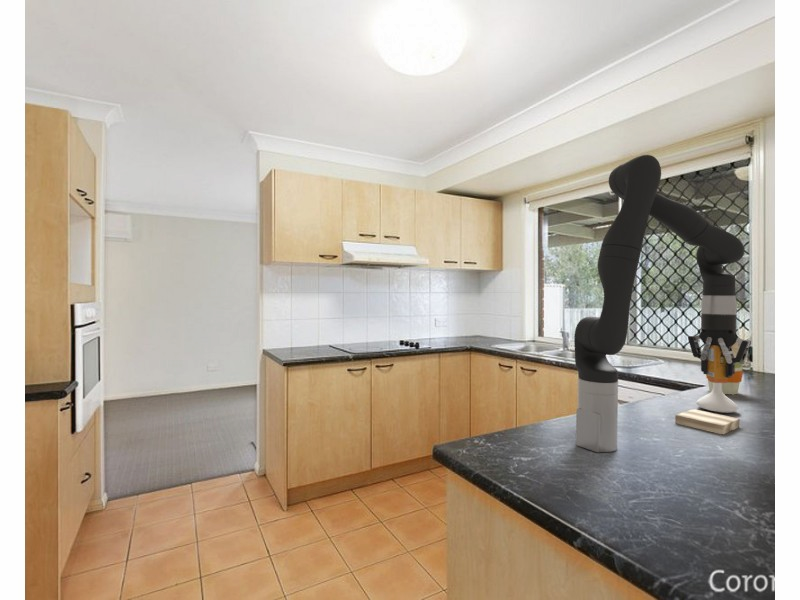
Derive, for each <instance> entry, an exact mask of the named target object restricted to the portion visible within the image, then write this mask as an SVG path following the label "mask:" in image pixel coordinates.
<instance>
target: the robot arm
mask: <svg viewBox="0 0 800 600" xmlns="http://www.w3.org/2000/svg"><path fill="white" fill-rule="evenodd" d="M661 178H662V168H661V165H660V162H659V160H658V159H657V158H656V157H655V156H653V155H651V154H642V155H639V156H636V157H633V158H632V159H629V160H628V161H626V162H624V163H621V164H619V165H618V166H617V167H615V168H613V169H612V171H611V172H610V174H609V177H608V185H609V188H610V190H611V191H612V193H613V194H615V196H617V197H618V198H620V199H621V200H623V201H622V205H621V207H620V210H619V212H618V214H617V215H616V217H615V219H614V220H613V222H612V223H611V225H609V226H610V227H609V229H607V232H606V234H605V235H604V236H603V240H602V243H601V246H600V250H599V255H598V258H597V272H598V273H597V274H598V276H599V280H600V283H601V286H602V291H603V301H602V302H603V303H602V308H601V312H600V315H599V316H586V317H582V318H581V319H580V320H579V322H578V323H577V324H576V327H575V330H574V336H573V337H574V338H573V340H574V341H573V342H574V363H575V367H576V370H577V372H578V379H577V380H578V381H577V382H578V387H577V393H578V394H577V408H576V409H575V411H576V412H575V414H576V417H575V418H576V419H575V425H576V426H575V445H576V446H578V447H581V448H584V449H586V450H589V451H592V452H595V453H611V452H612V453H613V452H615V451H618V424H619V423H618V419H619V417H618V416H619V415H618V413H619V412H618V409H619V408H618V407H619V371H618V369H617V368H616V367H615V366H613V364H612V363H611V362H610V361H609V360H608V358H607V356H613V355H616V354H618V353H619V352H620V351H622V349H623V348H624V346H625V343H626V341H627V337H628V329H629V318H630V310H631V309H630V308H631V300H632V295H633V291H634V283H635V279H636V274H637V272H638V271H637V270H638V266H639V263H640V259H641V254H642V248H643V242H644V237H645V234H646V229H647V226H648V221H649V217H650V216H651V218H654V219H655V220H657V221H658V222H659V223H661V224H662V225H664V226H665V227H667V228H668V229H669V230H670V231H671V232H672V233H674V235H676V236H678V237H679V239H681V240H683V242H685V243H686V244H687V245H690V246H695V247H696V246H697V249H696V255H695V257H696V258H695V259H696V262H697V266H698V269H699V273H700V276H701V279H702V298H701V305H700V306H701V307H700V309H701V311H700V312H701V313H700V333H699V334H698V335H690V336H687V340H688V342H689V346H690V350H691V353H692V356H693V358H697V359H700V371H701V372H702V373H703V375H706V374H708V353H709V349H710V347H711V345H715V346H719V347H720V351H722V352H723V355H724V356H725V358H726V361H727V363H726V372H725V376H726V377H727V378H730V377H732V376H733V375H734V374H735V363H736V362H742V361H744V362H745V359H746V356H747V355H748V351H749V349H750V346H751V344H752V341H751V340H749V339H743V338H739V336H738V334H737V313H738V308H737V297H736V296H737V295H736V293H737V292H736V291H737V289H736V288H737V287H736V285H737V282H736V281H737V280H736V277H735V275H733V274H731V273H727V272H724V268H723V265H730V264H734V263H737V262H739V261H740V260H742V258H744V257H743V256H744V254H745V246H744V244H743V241H741V240H740V238H738V237H737V236H736V235H734V234H732V233H730V232H728V231H726V230H725V229H722V228H720V227H718V226H716V225H714V224H712V223H711V222H710V221H708V220H707V219H706V218H705V217H704V216H703V215H701V214H700V213H699V212H698V211H697V210H695V209H694V208H692V207H690V206H688V205H686V204H683V203H682V202H679V201H677V200H673V199H670V198H668V197H665V196H663V195H662V194H660V193H658V189H659V186H660V183H661V180H662V179H661ZM700 342H702V343H703V344H704V346H703V348H702V350H701V347H700ZM736 342H737V343H738V346H739V347H740V348H739V350H738V353H737V355H736V358H735V357H734V352H733V349H732V346H733V345H734V344H735V343H736ZM729 349H730V350H729ZM611 364H612V365H611Z"/></svg>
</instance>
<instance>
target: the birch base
mask: <svg viewBox="0 0 800 600" xmlns="http://www.w3.org/2000/svg"><path fill="white" fill-rule="evenodd" d="M674 415H675V419H674V421H675V422H674V423H675V424H678V425H682V426H686V427H689V428H695V429H698V430H703V431H707V432H711V433H715V434H719V435H722V434H723V435H725V434H727V433H729V431H730V432H731V430H732V431H734V430H736V429H739V428H740V419H741V418H737V417H733V416H728V415H723V414H719V413H716V412H714V413H713V412H711V411H710V412H709V411H704V410H700V409H695V408H692V409H689V410H685V411H683V412H679V413H678V414H674ZM738 427H739V428H738Z"/></svg>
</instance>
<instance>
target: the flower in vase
mask: <svg viewBox="0 0 800 600" xmlns="http://www.w3.org/2000/svg"><path fill="white" fill-rule="evenodd" d="M739 348H740V347H739V346H738V343H737V342H736V343H735V344H734V345H733V346H732V349H733V352H734V357H735V358H736V355H737V353H738V350H739ZM729 350H730V349H729ZM740 367H742V368H743V367H744V365H743V366H742V365H741V364H740V363H738V362H736V363H735V368H740ZM721 385H722V383H713V390H712V391H709V393H707V394H706V395H703V396H701V397H700V398H698V400H696V402H695V404H696V405H697V407H699V408H701V409H702V410H703V409H704V410H707V411H710V412H714V413H723V414H724V413H727V414H728V413H731V414H732V413H735V412H736V413H737V411H739V406H738V405H737V403H736V402H734V401H733V400H732V399H731V398H729V397H728V395H727V396H726V395H725V394H723V392H722V388H721Z"/></svg>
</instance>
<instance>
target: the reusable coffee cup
mask: <svg viewBox="0 0 800 600" xmlns="http://www.w3.org/2000/svg"><path fill="white" fill-rule="evenodd" d="M738 363H740V364H741V365H742V366H743V367H744V365H745V360H744V361H742V362H738ZM743 367H740V368H735V374H734V375H733V376H732V377H730V378H728V383H722V385H721V388H722V392H723V394H724V395H725V394H732V395H731V396H735V395H734V394H737V395H738V394H739V389H740V384H741V382H742V379H743V375H744V374H743V373H744V370H743ZM705 377H706V380H707V381H708V374H705ZM708 390H709V392H711V391H712V390H713V382H710V381H708Z"/></svg>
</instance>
